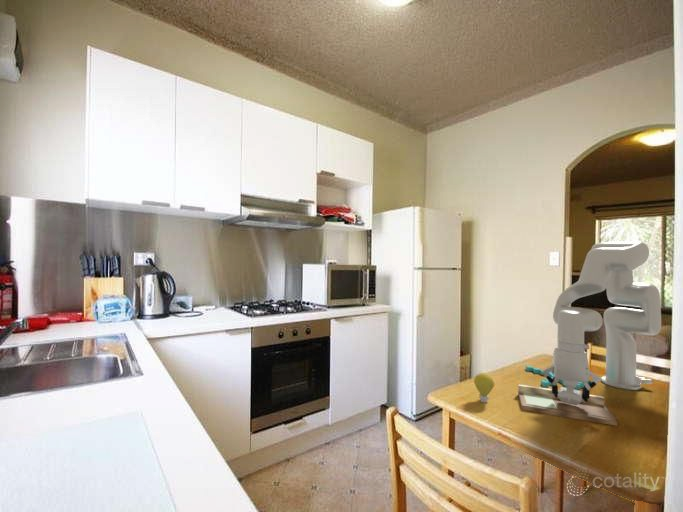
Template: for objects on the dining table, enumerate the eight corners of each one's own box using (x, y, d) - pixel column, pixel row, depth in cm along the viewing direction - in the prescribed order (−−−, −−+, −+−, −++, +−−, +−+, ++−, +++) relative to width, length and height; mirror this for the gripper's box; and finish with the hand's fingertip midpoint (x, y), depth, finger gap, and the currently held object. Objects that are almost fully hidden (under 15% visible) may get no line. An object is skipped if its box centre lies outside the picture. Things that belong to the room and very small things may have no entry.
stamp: (559, 395, 118) (560, 372, 118) (582, 400, 114) (583, 376, 114) (557, 404, 111) (557, 379, 111) (581, 410, 107) (581, 384, 107)
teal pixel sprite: (543, 387, 132) (599, 392, 128) (543, 382, 132) (599, 386, 128) (525, 370, 152) (574, 373, 148) (525, 365, 152) (574, 369, 148)
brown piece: (602, 407, 114) (602, 396, 114) (617, 425, 102) (617, 412, 102) (518, 394, 124) (518, 384, 124) (522, 409, 112) (522, 398, 112)
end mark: (551, 397, 118) (551, 397, 118) (557, 409, 110) (557, 408, 110) (523, 393, 122) (523, 392, 122) (526, 404, 113) (526, 403, 113)
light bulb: (486, 406, 114) (486, 378, 114) (469, 399, 120) (470, 372, 120) (498, 402, 118) (498, 374, 118) (481, 395, 123) (481, 368, 123)
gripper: (597, 346, 112) (597, 398, 112) (539, 341, 119) (538, 389, 119) (605, 353, 105) (605, 407, 105) (543, 346, 112) (542, 398, 112)
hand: (570, 397), depth 112 cm, fingers closed on stamp, 7 cm apart
